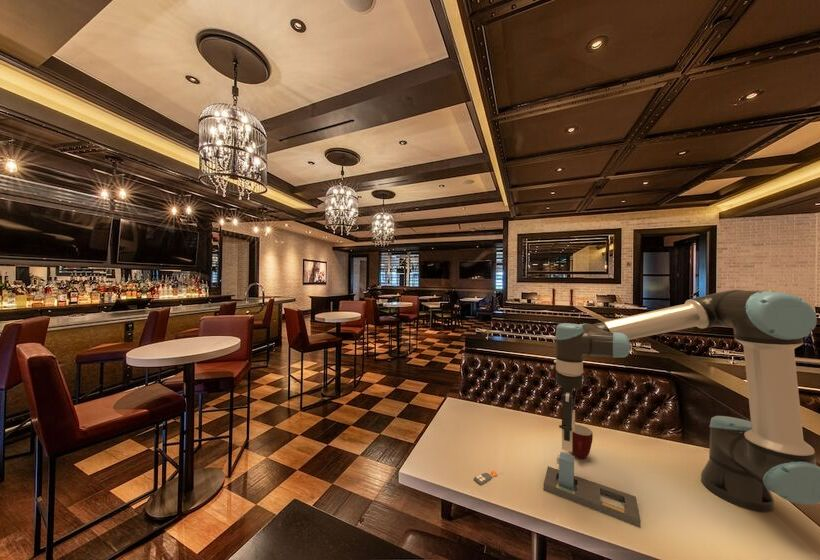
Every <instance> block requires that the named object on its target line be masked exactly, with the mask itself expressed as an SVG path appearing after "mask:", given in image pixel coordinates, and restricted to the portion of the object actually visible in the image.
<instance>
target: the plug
mask: <svg viewBox="0 0 820 560" xmlns="http://www.w3.org/2000/svg"><path fill="white" fill-rule="evenodd" d="M575 459H576V457H575V456H574V455H572V454H570V453H566V452H562V451H560V453H559V454H558V453H557V454H556V464H557V465H558V470H559V479H558V485H560V486H562V487H565V488H568V489H571V490H573V491H575V490H574V489H575V485H574V475H575Z"/></svg>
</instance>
